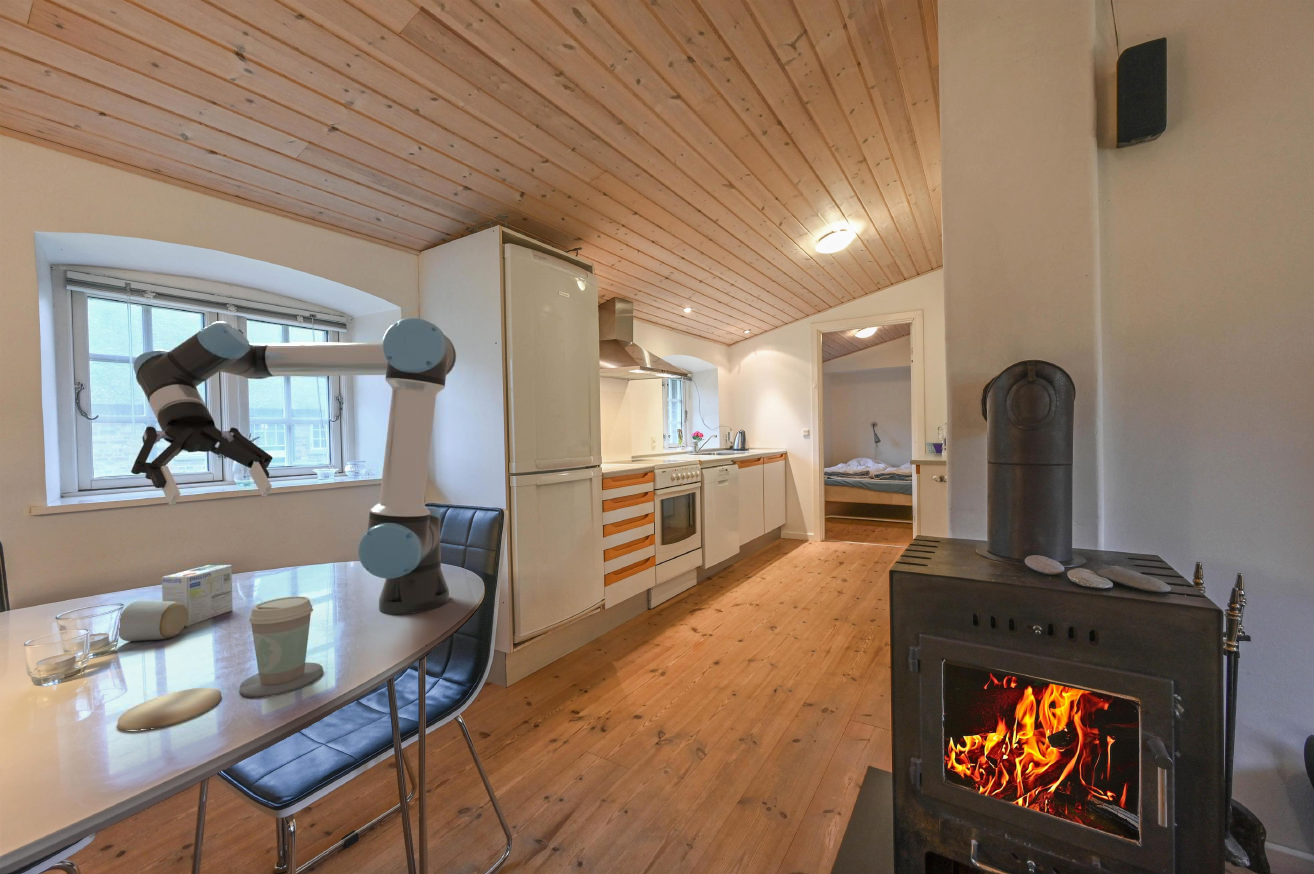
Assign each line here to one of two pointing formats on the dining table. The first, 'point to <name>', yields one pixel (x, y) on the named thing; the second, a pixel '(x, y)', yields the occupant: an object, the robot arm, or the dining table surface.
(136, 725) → the cork coaster
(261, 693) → the slate coaster
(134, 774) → the dining table surface
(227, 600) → the light bulb box
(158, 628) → the ceramic mug
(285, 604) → the coffee cup
